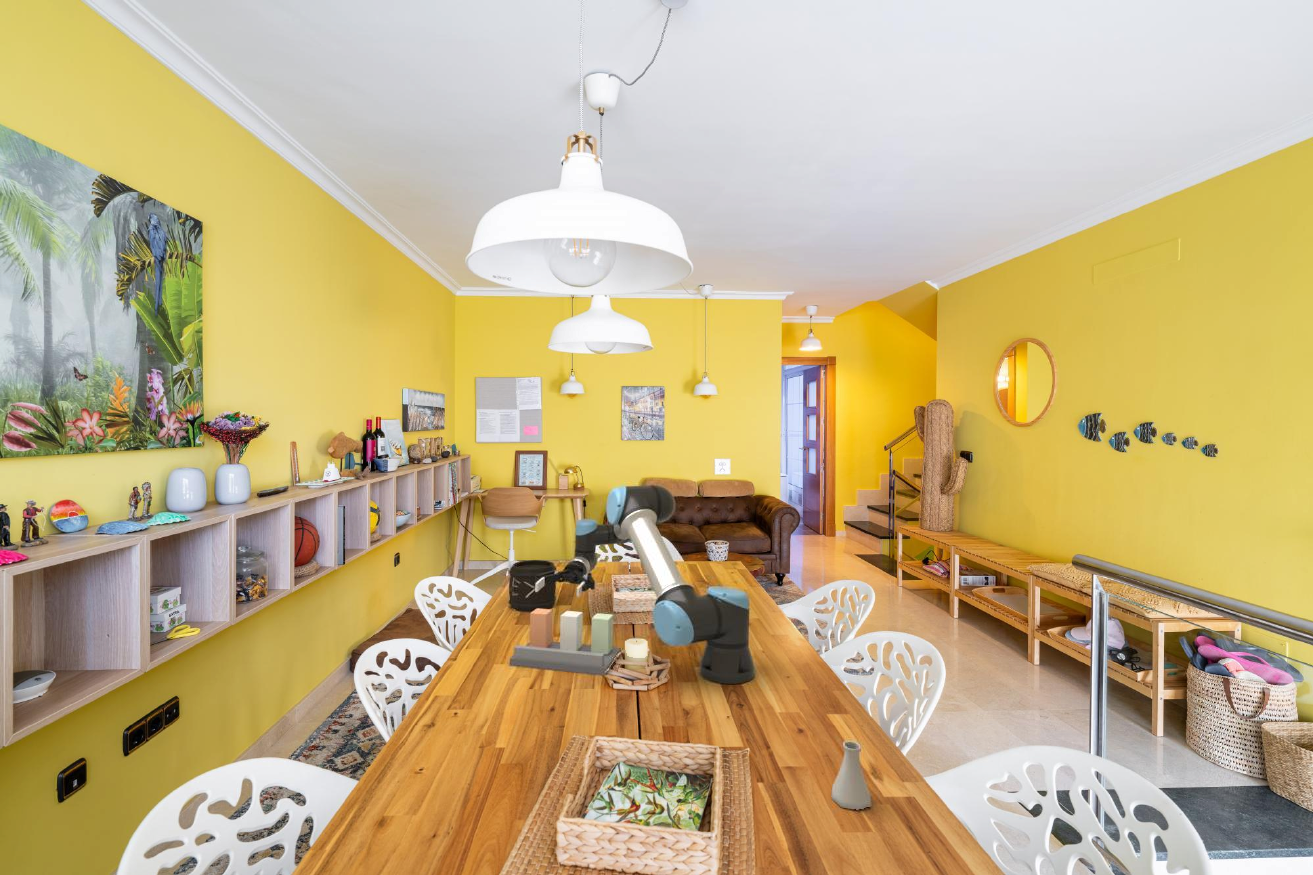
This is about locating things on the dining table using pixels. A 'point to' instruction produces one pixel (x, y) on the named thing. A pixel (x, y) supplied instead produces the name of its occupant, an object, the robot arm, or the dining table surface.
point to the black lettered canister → (530, 586)
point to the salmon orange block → (541, 627)
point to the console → (563, 658)
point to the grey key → (571, 630)
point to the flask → (851, 780)
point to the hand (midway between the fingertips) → (556, 590)
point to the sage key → (602, 633)
